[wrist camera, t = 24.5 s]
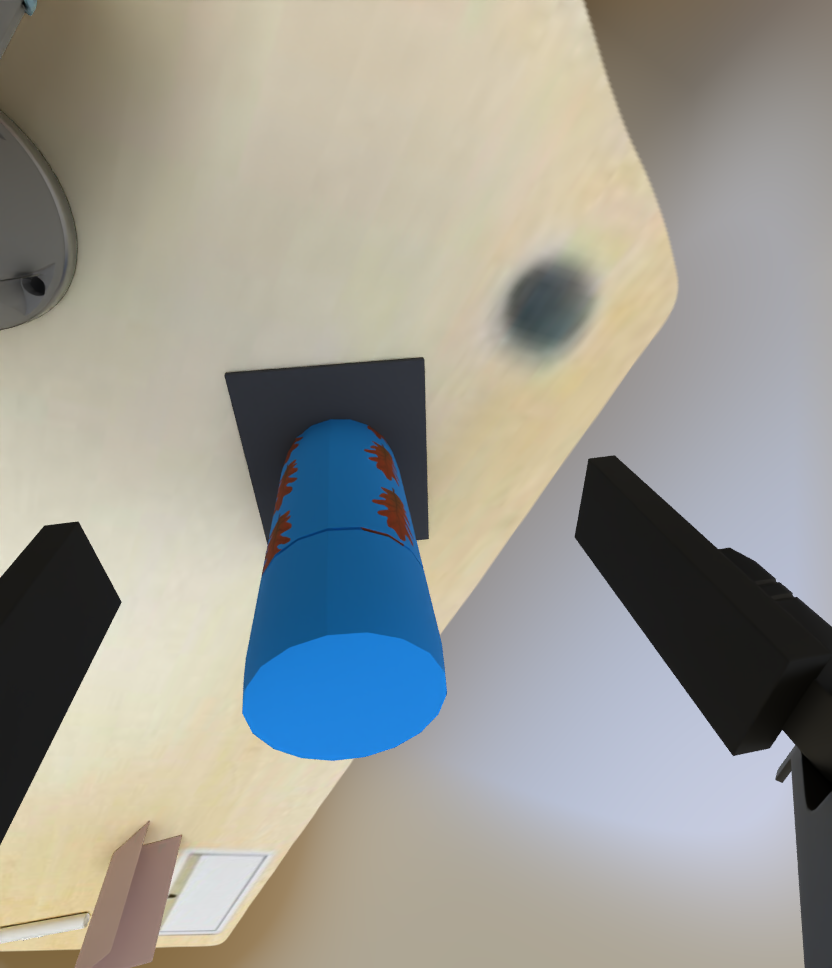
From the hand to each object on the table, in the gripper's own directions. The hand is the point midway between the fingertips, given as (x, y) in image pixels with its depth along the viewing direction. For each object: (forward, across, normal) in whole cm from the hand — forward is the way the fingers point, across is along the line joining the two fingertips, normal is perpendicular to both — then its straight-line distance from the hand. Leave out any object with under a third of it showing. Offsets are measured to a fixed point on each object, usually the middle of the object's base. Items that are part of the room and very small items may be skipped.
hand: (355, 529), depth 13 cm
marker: (+30, -67, -101) cm, 125 cm away
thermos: (+30, -1, -15) cm, 33 cm away
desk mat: (+30, -2, -15) cm, 34 cm away
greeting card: (+30, -42, -78) cm, 93 cm away
